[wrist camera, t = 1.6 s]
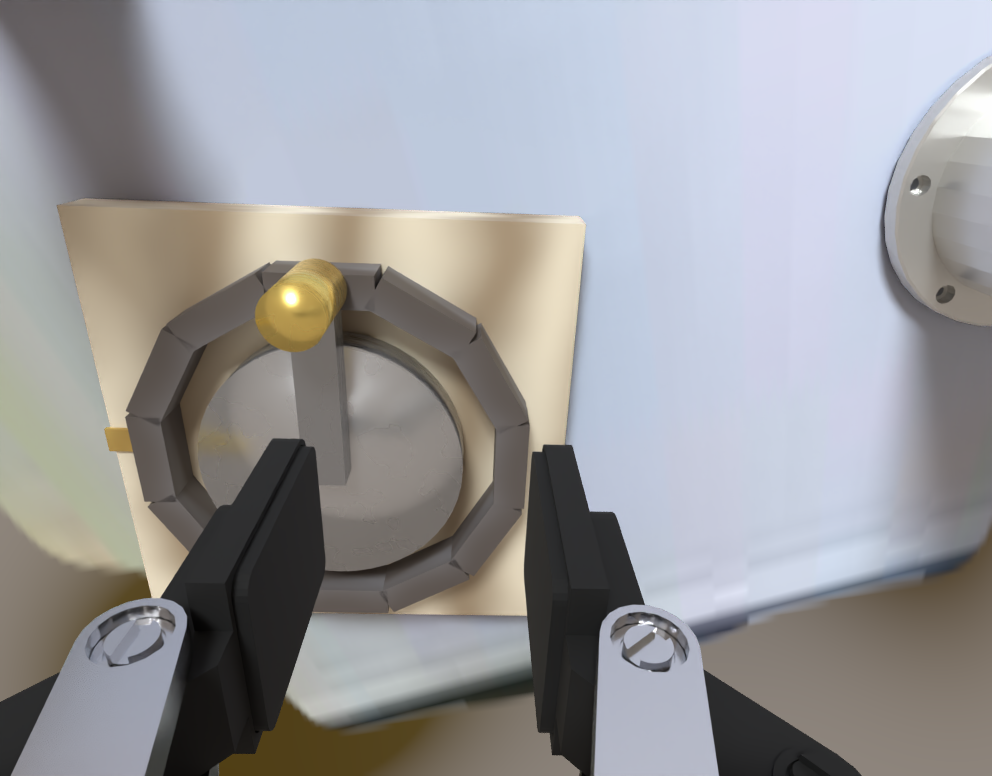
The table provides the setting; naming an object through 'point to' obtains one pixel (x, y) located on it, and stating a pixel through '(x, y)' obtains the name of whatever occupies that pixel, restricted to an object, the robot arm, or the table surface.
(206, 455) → the dial
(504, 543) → the dial plate
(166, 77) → the table surface
